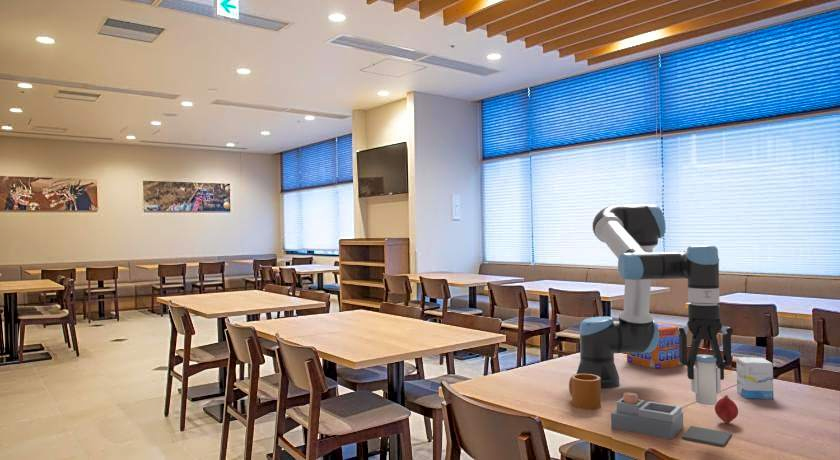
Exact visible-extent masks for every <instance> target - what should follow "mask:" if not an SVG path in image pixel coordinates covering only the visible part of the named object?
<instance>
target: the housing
mask: <svg viewBox="0 0 840 460" xmlns="http://www.w3.org/2000/svg"><path fill="white" fill-rule="evenodd" d="M615 405H616V406H615V407H616V409H615V410H614V411H612V412H611V413H610V420H611V421H610V426H611V428H612V429H617V430H622V431H627V432H631V433H638V434H642V435H647V436H653V437H656V438H657V437H658V438H663V439H668V440H672V439H674V438H675V436H677V434H678V433H679V432H680V431H681V430H682V429H683V428H684V412H683V407H682V406H681V405H674V404H669V403H661V402H655V401H649V400H648V401H647V402H646V400H645V399H639V398H637V404H630V403H624V396H623V397H622V398H620V399H619V400H617V401H616V404H615Z"/></svg>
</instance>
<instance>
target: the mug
mask: <svg viewBox="0 0 840 460" xmlns="http://www.w3.org/2000/svg"><path fill="white" fill-rule="evenodd" d="M568 389H569V394H570V396H571V404H572V407H574V408H577V409H582V410H597V409H600V408H601V407H602V405H601V403H602V400H601V399H602V390H601V389H602V388H601V378H600V377H599V376H597V375H593V374H576V373H575V374H572V375H571V376H570V379H569V381H568Z"/></svg>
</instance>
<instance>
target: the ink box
mask: <svg viewBox="0 0 840 460" xmlns="http://www.w3.org/2000/svg"><path fill="white" fill-rule="evenodd" d="M735 360H736V392H738V393H739V394H740V395H741V396H742V397H744V398H745V399H759V400H760V399H766V400H767V399H768V400H769V399H771V400H774V369H773V368H774V367H773V364H774V363H773V362H771V361H769V360H767V359H766V358H763V357H749V356H747V357H745V356H743V357H736V359H735Z"/></svg>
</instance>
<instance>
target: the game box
mask: <svg viewBox="0 0 840 460" xmlns="http://www.w3.org/2000/svg"><path fill="white" fill-rule="evenodd" d="M655 322H656V323H657V325H658V332H659V339H658V344H657V346H656V348H655V349H654V350H653V351H652V352H648V353H641V354H639V353H626V361H627V362H628V363H632V364H635V365H638V366H642V367H647V368H649V367H650V369H653V368H654V370H656V369H657V370H658V369H659V370H660V369H664V368H670V367H678V366H684V365H683V364H682V363H680V361H679V334H678V331H677V327H682V326H680V325H675V324H671V323H664V322H659V321H655Z"/></svg>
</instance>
